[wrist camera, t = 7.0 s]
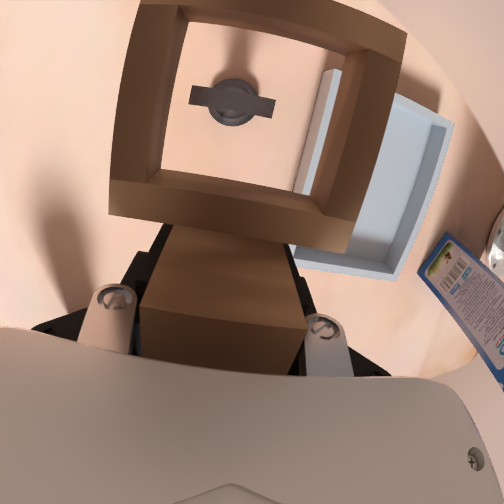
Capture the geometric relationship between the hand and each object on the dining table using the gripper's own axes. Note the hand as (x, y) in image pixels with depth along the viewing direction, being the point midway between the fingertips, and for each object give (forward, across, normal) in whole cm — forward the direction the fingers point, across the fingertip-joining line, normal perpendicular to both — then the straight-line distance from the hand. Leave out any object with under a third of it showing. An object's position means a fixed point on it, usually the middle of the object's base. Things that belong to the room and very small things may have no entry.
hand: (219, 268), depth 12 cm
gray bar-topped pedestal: (+15, +1, -6) cm, 16 cm away
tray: (+15, -12, -2) cm, 20 cm away
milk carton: (+15, -29, +5) cm, 33 cm away
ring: (0, 0, -4) cm, 4 cm away
